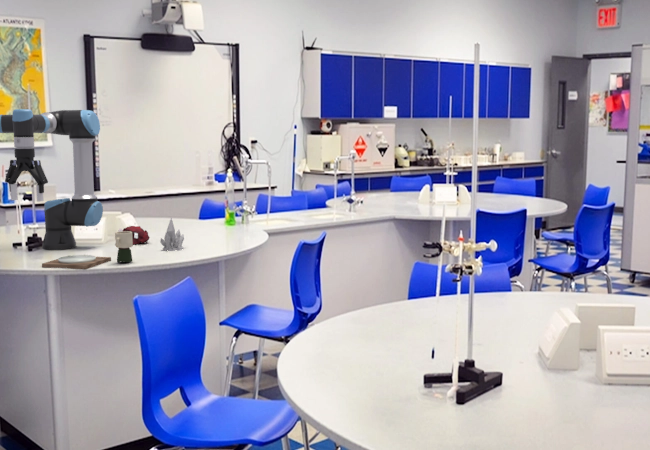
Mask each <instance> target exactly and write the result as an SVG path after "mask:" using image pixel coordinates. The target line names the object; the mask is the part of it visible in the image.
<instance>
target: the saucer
mask: <svg viewBox="0 0 650 450" xmlns="http://www.w3.org/2000/svg"><path fill="white" fill-rule="evenodd" d="M96 257H97V256H95V255H91V254H89V255H88V254H73V255H65V256H62V257H59V258H57V259H58V262H60V263H67V264H76V263H87V262H92V261H95V260H96Z"/></svg>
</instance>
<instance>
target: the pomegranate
mask: <svg viewBox="0 0 650 450" xmlns="http://www.w3.org/2000/svg"><path fill="white" fill-rule="evenodd" d="M120 231H131V232H132V239H133V245H139V244H146V243H147V242H148V241H149V240H150V238H151V237H150V235H149V232H148V231H147V230H146V229H145V230H144V228H142V227H141V226H140V225H139V226H135V225H130V226H127V227H125V228H123V229H122V228H119V230H118V231H117V232H120Z"/></svg>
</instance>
